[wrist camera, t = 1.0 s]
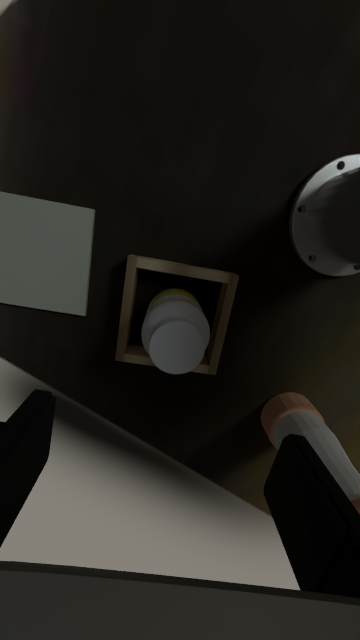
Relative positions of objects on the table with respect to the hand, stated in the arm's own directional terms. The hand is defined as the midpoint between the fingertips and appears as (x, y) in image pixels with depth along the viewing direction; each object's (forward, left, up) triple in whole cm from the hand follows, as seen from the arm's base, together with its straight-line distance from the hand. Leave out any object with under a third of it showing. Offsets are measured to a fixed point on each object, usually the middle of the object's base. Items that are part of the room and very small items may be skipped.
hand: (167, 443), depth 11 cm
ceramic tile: (+15, -3, -23) cm, 28 cm away
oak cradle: (-1, +1, -23) cm, 23 cm away
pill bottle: (-1, +1, -23) cm, 23 cm away
